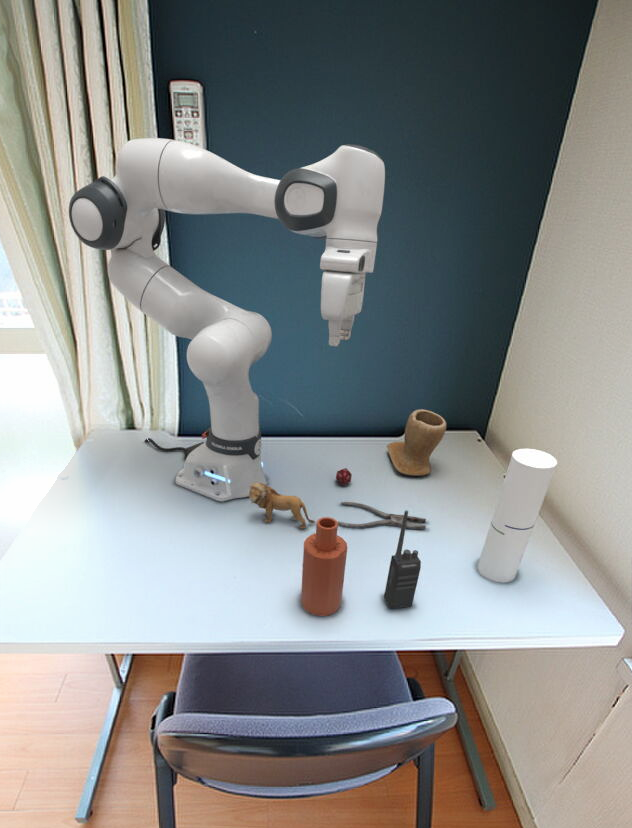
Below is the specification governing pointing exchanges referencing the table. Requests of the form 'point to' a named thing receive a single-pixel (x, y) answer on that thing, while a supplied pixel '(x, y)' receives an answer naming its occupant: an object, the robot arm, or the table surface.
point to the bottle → (323, 569)
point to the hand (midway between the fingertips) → (339, 342)
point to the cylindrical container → (516, 513)
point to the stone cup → (417, 443)
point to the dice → (343, 476)
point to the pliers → (393, 520)
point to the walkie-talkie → (402, 574)
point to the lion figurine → (277, 502)
